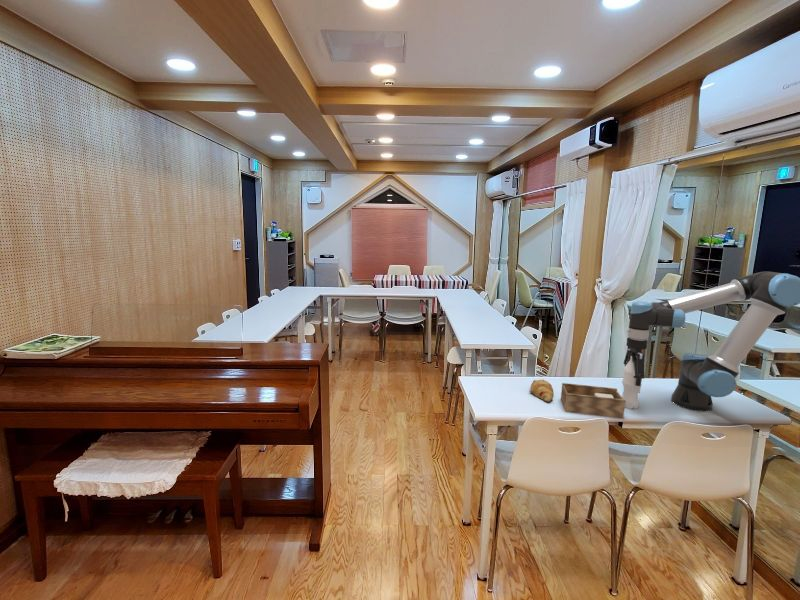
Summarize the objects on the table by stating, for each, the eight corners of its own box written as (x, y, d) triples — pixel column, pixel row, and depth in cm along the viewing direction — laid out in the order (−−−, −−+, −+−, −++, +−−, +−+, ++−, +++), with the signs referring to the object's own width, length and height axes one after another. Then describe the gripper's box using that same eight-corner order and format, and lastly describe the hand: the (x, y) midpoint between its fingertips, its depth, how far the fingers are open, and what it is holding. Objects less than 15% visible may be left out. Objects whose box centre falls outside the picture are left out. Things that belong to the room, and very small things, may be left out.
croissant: (554, 411, 181) (564, 396, 180) (535, 400, 180) (545, 385, 179) (539, 391, 202) (548, 378, 200) (521, 382, 201) (530, 368, 200)
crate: (614, 407, 178) (616, 388, 176) (623, 420, 165) (625, 400, 164) (560, 401, 183) (562, 382, 181) (564, 413, 170) (566, 394, 169)
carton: (610, 406, 177) (611, 394, 176) (616, 416, 167) (618, 403, 166) (593, 404, 178) (594, 392, 177) (598, 414, 169) (599, 401, 168)
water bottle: (638, 407, 179) (645, 351, 175) (638, 413, 173) (645, 355, 169) (619, 403, 183) (626, 349, 179) (618, 409, 177) (625, 352, 172)
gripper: (619, 331, 185) (614, 376, 189) (636, 345, 162) (630, 396, 165) (637, 332, 184) (632, 378, 187) (658, 346, 160) (650, 399, 164)
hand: (631, 387), depth 176 cm, fingers open, 12 cm apart
